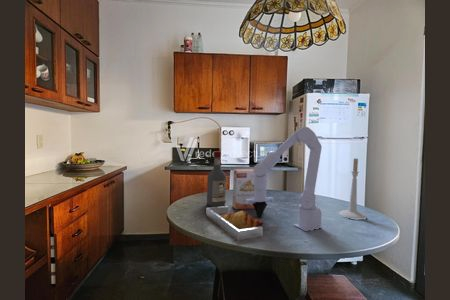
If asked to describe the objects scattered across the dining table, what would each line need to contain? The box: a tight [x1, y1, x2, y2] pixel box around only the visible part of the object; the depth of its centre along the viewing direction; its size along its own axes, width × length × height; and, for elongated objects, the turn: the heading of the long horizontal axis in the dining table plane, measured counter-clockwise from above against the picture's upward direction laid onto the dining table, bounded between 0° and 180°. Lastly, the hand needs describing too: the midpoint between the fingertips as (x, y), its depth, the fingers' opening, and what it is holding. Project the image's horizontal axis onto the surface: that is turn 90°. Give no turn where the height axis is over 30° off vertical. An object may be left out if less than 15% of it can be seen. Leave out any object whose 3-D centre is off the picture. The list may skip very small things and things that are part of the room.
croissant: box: [219, 210, 264, 230], centre depth 116 cm, size 21×10×8 cm, turn 69°
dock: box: [205, 205, 264, 241], centre depth 117 cm, size 11×33×4 cm, turn 25°
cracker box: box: [232, 168, 255, 210], centre depth 144 cm, size 14×6×21 cm, turn 105°
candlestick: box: [338, 158, 367, 218], centre depth 133 cm, size 13×13×30 cm
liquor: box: [206, 150, 227, 207], centre depth 148 cm, size 9×9×30 cm
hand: (259, 217), depth 123 cm, fingers closed
